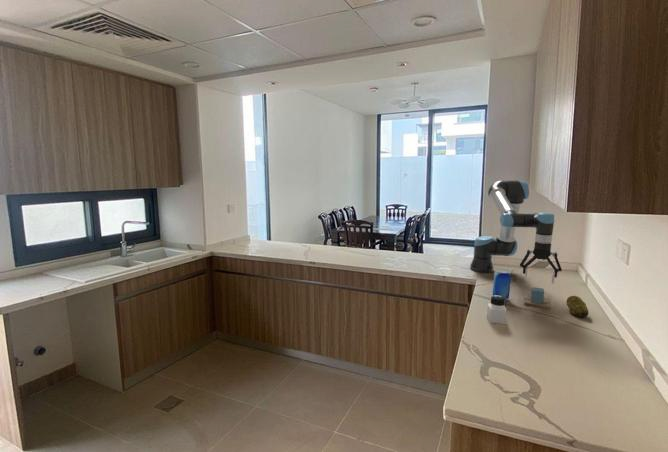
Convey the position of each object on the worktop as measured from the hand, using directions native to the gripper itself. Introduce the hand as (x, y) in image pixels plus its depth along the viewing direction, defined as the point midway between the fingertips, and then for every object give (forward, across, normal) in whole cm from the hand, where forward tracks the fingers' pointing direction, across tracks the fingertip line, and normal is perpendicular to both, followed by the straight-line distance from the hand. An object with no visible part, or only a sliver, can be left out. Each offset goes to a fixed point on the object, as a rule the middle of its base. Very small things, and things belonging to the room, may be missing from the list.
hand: (538, 281), depth 191 cm
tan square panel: (+12, 0, 0) cm, 12 cm away
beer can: (+12, -18, -2) cm, 22 cm away
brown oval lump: (+12, +17, -7) cm, 22 cm away
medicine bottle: (+12, -19, -33) cm, 40 cm away
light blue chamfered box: (+11, 0, 0) cm, 11 cm away
